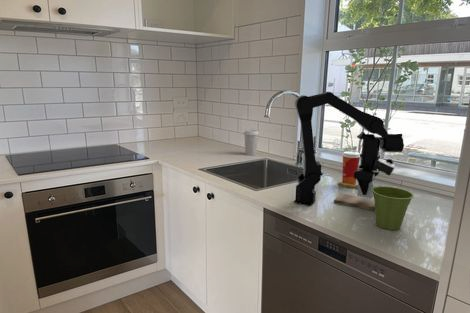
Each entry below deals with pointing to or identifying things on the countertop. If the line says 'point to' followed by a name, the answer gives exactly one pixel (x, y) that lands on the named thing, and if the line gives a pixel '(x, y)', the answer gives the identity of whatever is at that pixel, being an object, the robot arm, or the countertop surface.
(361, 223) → the countertop surface
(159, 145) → the countertop surface
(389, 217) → the plant pot
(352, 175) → the paper cup
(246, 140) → the coffee cup
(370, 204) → the cord clamp board
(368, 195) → the white cube with hole
